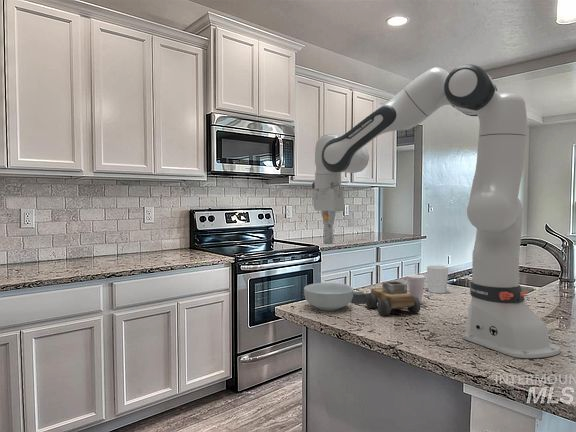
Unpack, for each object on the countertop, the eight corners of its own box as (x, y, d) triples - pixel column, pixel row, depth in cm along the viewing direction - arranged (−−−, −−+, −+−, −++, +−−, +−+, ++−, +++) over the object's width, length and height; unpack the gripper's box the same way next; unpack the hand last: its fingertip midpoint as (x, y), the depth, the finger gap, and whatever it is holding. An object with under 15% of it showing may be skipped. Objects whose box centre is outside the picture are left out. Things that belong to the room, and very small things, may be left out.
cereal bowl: (294, 308, 137) (293, 287, 137) (323, 299, 149) (323, 280, 149) (334, 317, 126) (334, 295, 125) (363, 307, 138) (363, 286, 138)
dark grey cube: (366, 303, 143) (366, 294, 143) (356, 304, 142) (356, 294, 142) (361, 301, 147) (361, 291, 147) (351, 301, 146) (351, 292, 146)
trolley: (420, 314, 129) (420, 286, 128) (385, 317, 125) (385, 288, 125) (397, 303, 142) (397, 278, 142) (365, 306, 139) (365, 280, 139)
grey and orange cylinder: (334, 243, 136) (334, 214, 135) (325, 244, 135) (325, 214, 135) (331, 243, 139) (330, 214, 138) (322, 243, 138) (322, 214, 137)
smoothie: (423, 300, 146) (423, 262, 145) (427, 305, 139) (427, 265, 139) (405, 300, 146) (405, 262, 146) (408, 305, 140) (408, 265, 140)
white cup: (451, 293, 156) (451, 268, 156) (430, 294, 156) (430, 268, 156) (443, 289, 164) (443, 265, 164) (424, 289, 164) (424, 265, 164)
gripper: (349, 182, 127) (349, 225, 127) (326, 185, 147) (326, 222, 147) (330, 182, 125) (330, 226, 126) (309, 185, 145) (310, 223, 145)
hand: (328, 224), depth 136 cm, fingers closed on grey and orange cylinder, 3 cm apart
